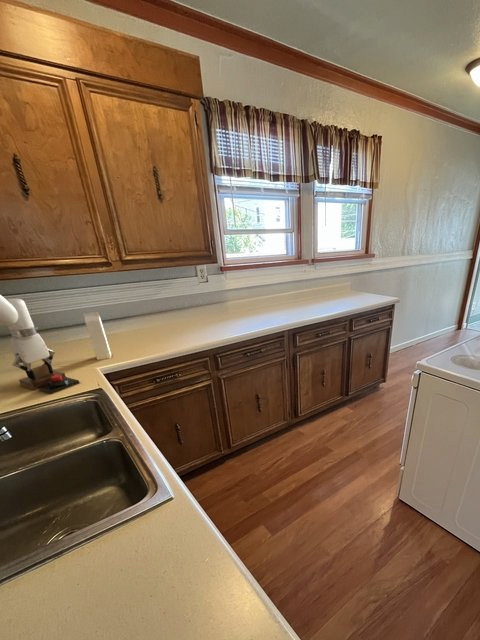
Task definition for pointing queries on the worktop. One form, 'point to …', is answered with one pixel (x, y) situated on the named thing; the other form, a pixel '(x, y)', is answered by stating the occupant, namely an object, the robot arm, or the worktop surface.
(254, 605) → the worktop surface
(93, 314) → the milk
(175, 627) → the worktop surface
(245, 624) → the worktop surface
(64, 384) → the button block
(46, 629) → the worktop surface
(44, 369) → the brown rectangular block
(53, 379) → the button
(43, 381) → the lock plate
